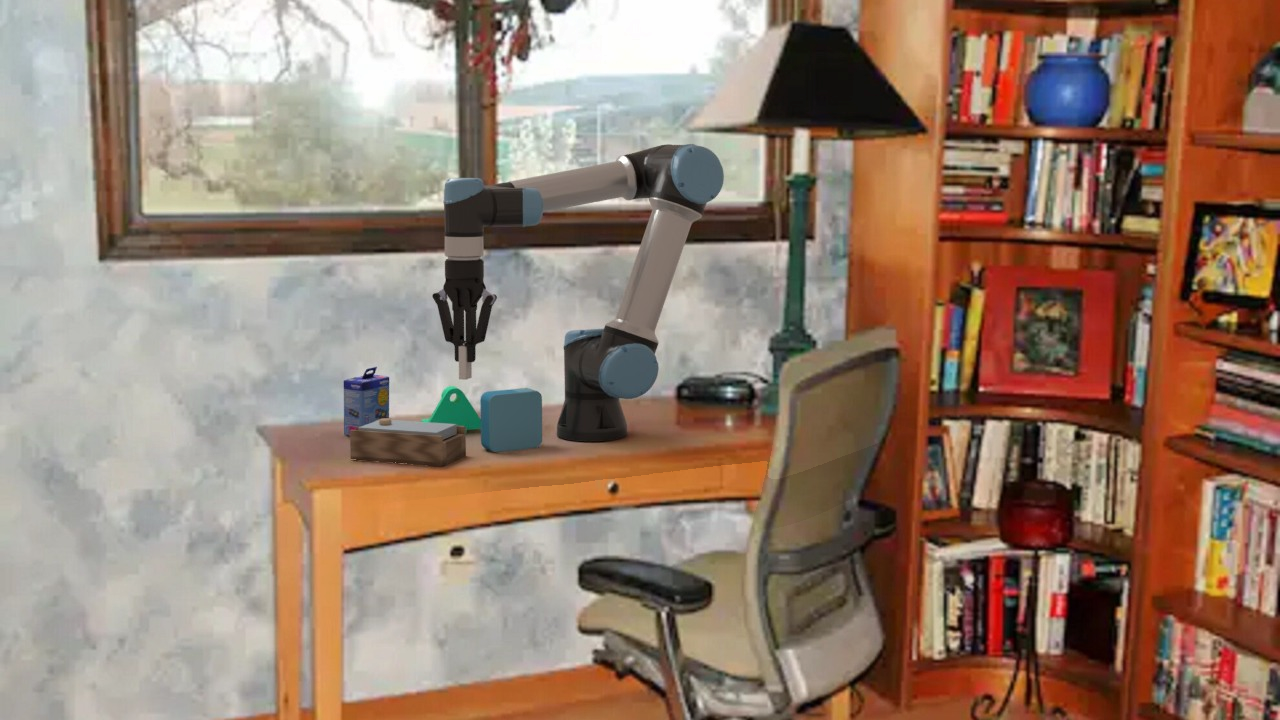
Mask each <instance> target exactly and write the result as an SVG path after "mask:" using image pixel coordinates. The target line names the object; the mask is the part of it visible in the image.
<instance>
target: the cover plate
mask: <svg viewBox="0 0 1280 720" xmlns="http://www.w3.org/2000/svg"><path fill="white" fill-rule="evenodd" d="M359 430H362V431H377V432H392V433H406V434H421V435H436V436H443V440H444V439H446V438H449V437H451V436H453V435H456V434H457V424H446V423H431V422H421V421H415V420H399V419H398V420H397V419H392V418H390V417H389V418H383V419H379V420H377V421H375V422H372V423H369V424H367V425H364V426H361V427H359Z"/></svg>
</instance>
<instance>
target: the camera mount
mask: <svg viewBox="0 0 1280 720" xmlns="http://www.w3.org/2000/svg"><path fill="white" fill-rule="evenodd" d="M454 394H455V399H453V400H451V397H452V395H454ZM440 397H441V398H440V400H439V402H438V404H436V405H437V406H436V407H435V409H434V410H433V413H432V414H431V416H430V417H429V418H423V419H421V420H420V422H431V423H446V424H457V426H465V431H466V432H467V431H468V430H481V416H479V414H478V413H477V411H476V410H475V408H474V407H473V405H472V404H471V402H470V401H469V399H468V398H467V396H466V395H465V393H464V392H463V390H461V389H460V388H458V387H456V386H453V385H451V386H450V385H449V386H447V387H445V388H444V389H443V390H442V392H441V396H440Z"/></svg>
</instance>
